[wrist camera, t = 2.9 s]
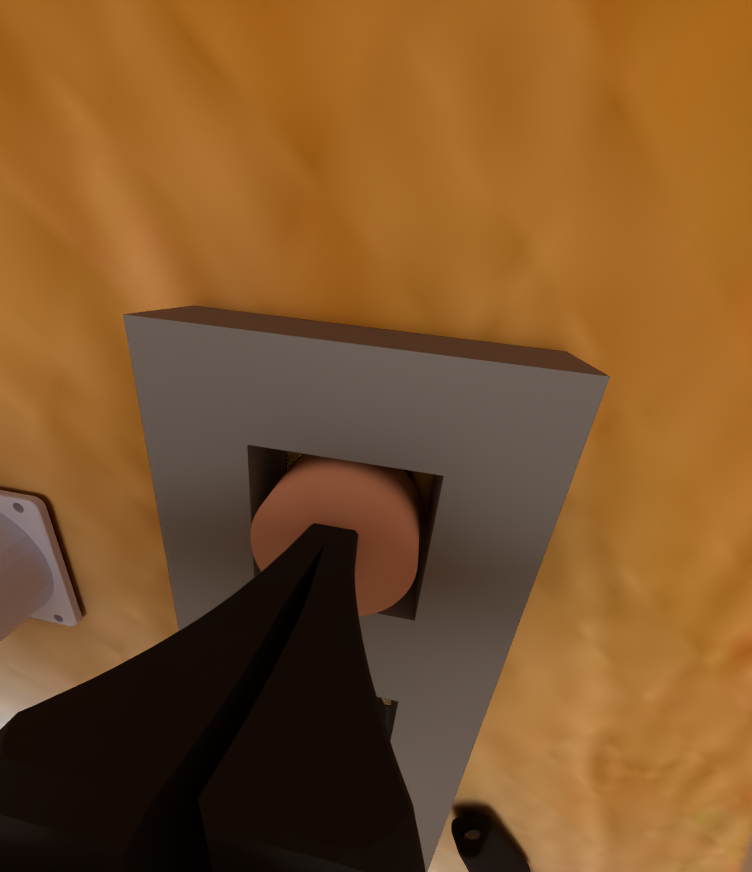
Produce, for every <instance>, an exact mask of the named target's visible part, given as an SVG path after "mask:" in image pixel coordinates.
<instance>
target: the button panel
mask: <svg viewBox="0 0 752 872" xmlns="http://www.w3.org/2000/svg"><path fill="white" fill-rule="evenodd" d="M123 316H124V322H125V328H126V333H127V339H128V345H129V350H130V356H131V362H132V367H133V373H134V378H135V384H136V390H137V395H138V401H139V407H140V412H141V418H142V424H143V429H144V435H145V441H146V446H147V452H148V458H149V463H150V469H151V475H152V480H153V486H154V492H155V497H156V503H157V509H158V514H159V520H160V526H161V531H162V537H163V543H164V548H165V554H166V560H167V565H168V571H169V577H170V582H171V588H172V594H173V599H174V605H175V611H176V616H177V622H178V628H179V631H180V630H181V629H183V628H185V627H186V626H188V625H189V624H191V623H193V622H194V621H196V620H197V619H199V618H200V617H202V616H203V615H205V614H206V613H208V612H209V611H211V610H212V609H213V608H215V607H216V606H218V605H219V604H221V603H222V602H223V601H225V600H226V599H227V598H229V597H230V596H231V595H233V594H234V593H235V592H237V591H238V590H239V589H240V588H242V587H243V586H244V585H245V584H247V583H248V582H249V581H250V580H252V579H253V578H254V577H255V576H257V575H258V574H259V573H260V572H261V570H260V568H259V567H258V565H257V563H256V560H255V558H254V555H253V552H252V548H251V540H250V538H251V527H252V522H253V519H254V517H255V514H256V513H257V511H258V509H259V507H260V506H261V505H262V503H263V502H264V501H265V499H266V498H267V497H268V496H269V494H270V493H271V492H272V490H273V489H274V488H275V486H276V485H277V484H278V482H279V481H280V480H281V478H282V477H283V476H284V474H285V473H286V451H290V452H297V453H303V454H309V455H316V456H322V457H328V458H335V459H341V460H347V461H353V462H360V463H366V464H372V465H379V466H385V467H391V468H398V469H404V470H410V471H416V472H423V473H429V474H434V479H433V484H432V489H431V495H430V500H429V505H428V510H427V516H426V521H425V526H424V532H423V537H422V542H421V548H420V553H419V558H418V565H417V572H416V576H415V579H414V581H413V583H412V585H411V587H410V589H409V590H408V591H407V593H406V594H405V595H404V596H403V597H402V598H401V599H400V600H399V601H398V602H396V603H395V604H394V605H392V606H390V607H389V608H387V609H385V610H382V611H380V612H377V613H374V614H370V615H366V616H360V617H359V621H360V628H361V633H362V638H363V643H364V648H365V653H366V657H367V662H368V666H369V670H370V674H371V678H372V682H373V685H374V689H375V692H376V696H377V697H380V698H385V699H389V700H392V701H391V707H390V706H385V705H384V706H385V709H386V719H385V727H386V730H387V733H388V736H389V739H390V742H391V745H392V748H393V751H394V754H395V757H396V760H397V762H398V765H399V768H400V771H401V774H402V776H403V779H404V782H405V784H406V787H407V790H408V792H409V795H410V798H411V800H412V803H413V807H414V813H415V818H416V823H417V828H418V833H419V838H420V843H421V848H422V853H423V858H424V864H425V870H426V872H427V871H428V868H429V866H430V863H431V860H432V858H433V855H434V852H435V849H436V847H437V844H438V841H439V839H440V836H441V833H442V830H443V828H444V825H445V822H446V820H447V817H448V814H449V812H450V809H451V806H452V803H453V801H454V798H455V795H456V793H457V790H458V787H459V784H460V782H461V779H462V776H463V774H464V771H465V768H466V765H467V763H468V760H469V757H470V755H471V752H472V749H473V746H474V744H475V741H476V738H477V736H478V733H479V730H480V727H481V725H482V722H483V719H484V717H485V714H486V711H487V708H488V706H489V703H490V700H491V698H492V695H493V692H494V690H495V687H496V684H497V681H498V679H499V676H500V673H501V671H502V668H503V665H504V662H505V660H506V657H507V654H508V652H509V649H510V646H511V643H512V641H513V638H514V635H515V633H516V630H517V627H518V624H519V622H520V619H521V616H522V614H523V611H524V608H525V605H526V603H527V600H528V597H529V595H530V592H531V589H532V586H533V584H534V581H535V578H536V576H537V573H538V570H539V567H540V565H541V562H542V559H543V557H544V554H545V551H546V549H547V546H548V543H549V540H550V538H551V535H552V532H553V530H554V527H555V524H556V521H557V519H558V516H559V513H560V511H561V508H562V505H563V502H564V500H565V497H566V494H567V492H568V489H569V486H570V483H571V481H572V478H573V475H574V473H575V470H576V467H577V464H578V462H579V459H580V456H581V454H582V451H583V448H584V445H585V443H586V440H587V437H588V435H589V432H590V429H591V427H592V424H593V421H594V418H595V416H596V413H597V410H598V408H599V405H600V402H601V399H602V397H603V394H604V391H605V389H606V386H607V383H608V380H609V378H610V376H608V375H606V374H604V373H603V372H601V371H599V370H598V369H596V368H594V367H592V366H591V365H589V364H587V363H585V362H584V361H582V360H580V359H578V358H577V357H575V356H573V355H571V354H570V353H568V352H564V351H555V350H547V349H539V348H531V347H523V346H515V345H507V344H499V343H491V342H482V341H474V340H466V339H458V338H450V337H442V336H434V335H426V334H417V333H409V332H401V331H393V330H385V329H377V328H369V327H361V326H353V325H344V324H336V323H328V322H320V321H312V320H304V319H296V318H288V317H279V316H271V315H263V314H255V313H247V312H239V311H231V310H223V309H214V308H206V307H198V306H187V307H179V308H171V309H163V310H155V311H146V312H138V313H130V314H123Z"/></svg>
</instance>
